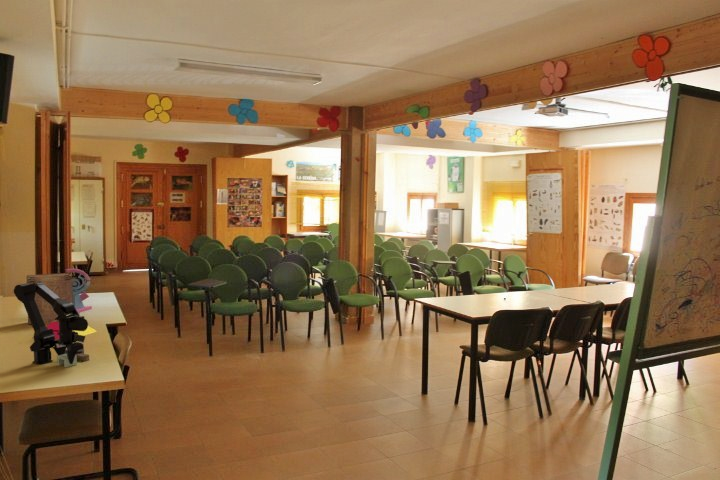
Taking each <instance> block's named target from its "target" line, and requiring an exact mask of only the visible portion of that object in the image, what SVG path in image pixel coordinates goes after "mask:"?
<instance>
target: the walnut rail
mask: <svg viewBox="0 0 720 480" xmlns="http://www.w3.org/2000/svg"><path fill="white" fill-rule="evenodd" d="M76 355H77V361H80V362H82V363H83V362H87V361H90V354H86V353H84V354H83V353H79V352H77V353H76Z"/></svg>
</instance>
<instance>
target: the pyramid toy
mask: <svg viewBox="0 0 720 480" xmlns="http://www.w3.org/2000/svg"><path fill="white" fill-rule="evenodd" d="M45 326H46V328H48V329H52V330H53V333H54V335H55V336H54V337H55V339H59V335H57V332H59V320H56V321H52V322H51V323H48V324H47V325H45ZM75 332H78V335H83V336H85V337H86V336H88V335H90V334H93V333H96V332H98V331H97V330H96V329H94V328H92V327H91V326H89V325H88V327H87V329H86V330H85V331H75Z"/></svg>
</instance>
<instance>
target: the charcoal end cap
mask: <svg viewBox="0 0 720 480" xmlns="http://www.w3.org/2000/svg"><path fill="white" fill-rule="evenodd" d="M66 350H67V348H66V349H65V354H66ZM77 352H79V353H83V354H85V348H84V349H80V350H78V351H77Z"/></svg>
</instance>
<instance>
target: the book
mask: <svg viewBox="0 0 720 480" xmlns="http://www.w3.org/2000/svg"><path fill="white" fill-rule="evenodd" d="M72 280H73V274H72V272H69V273H67V272H63V273H62V272H61V273H45V274H44V273H43V274H28V275H26V283H31V284H33V283H37V282H42V283H44V285H45V286H46V287H47V288H49V289H50V290H51V291H52V292H54V293H55V294H56V295H57V296H58V297H60V298H61V299H64V300H68V301H69V302H71V303H73V293H72V287H73V282H72ZM35 302H36V304H37V307H38V309H39V312H40V314H41V317H42V319H43V321H44V323H46V324H50V323H51V322H52V321H56V320H55V318H56V317H58V315H57V314H56V313H55V312H54V310H53V307H52V305H51V304H49V303H48V302H47V301H46V300H44V299H43V298H42V297H41V296H40V295H38V294H37V293H36V295H35ZM70 315H71V314H70ZM27 323H28V326H32V324H31V321H30V319H29V316H28V315H27Z"/></svg>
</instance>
